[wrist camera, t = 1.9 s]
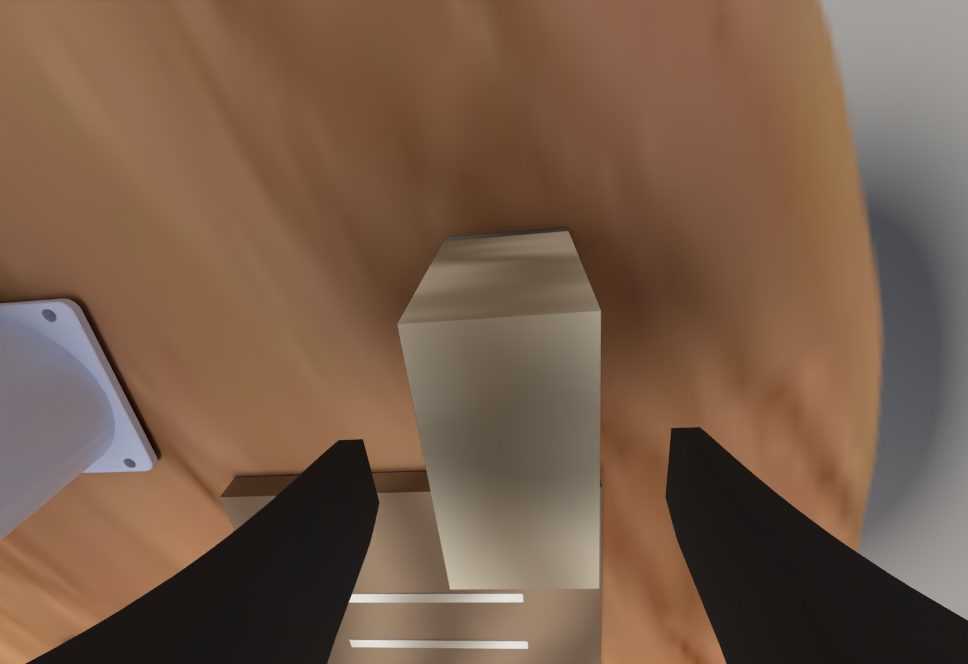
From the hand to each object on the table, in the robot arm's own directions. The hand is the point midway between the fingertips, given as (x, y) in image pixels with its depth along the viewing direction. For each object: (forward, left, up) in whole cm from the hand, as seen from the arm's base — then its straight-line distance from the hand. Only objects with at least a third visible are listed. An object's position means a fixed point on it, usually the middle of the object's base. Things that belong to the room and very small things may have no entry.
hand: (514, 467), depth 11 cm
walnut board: (-5, -15, -7) cm, 17 cm away
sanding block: (0, 0, -7) cm, 7 cm away
